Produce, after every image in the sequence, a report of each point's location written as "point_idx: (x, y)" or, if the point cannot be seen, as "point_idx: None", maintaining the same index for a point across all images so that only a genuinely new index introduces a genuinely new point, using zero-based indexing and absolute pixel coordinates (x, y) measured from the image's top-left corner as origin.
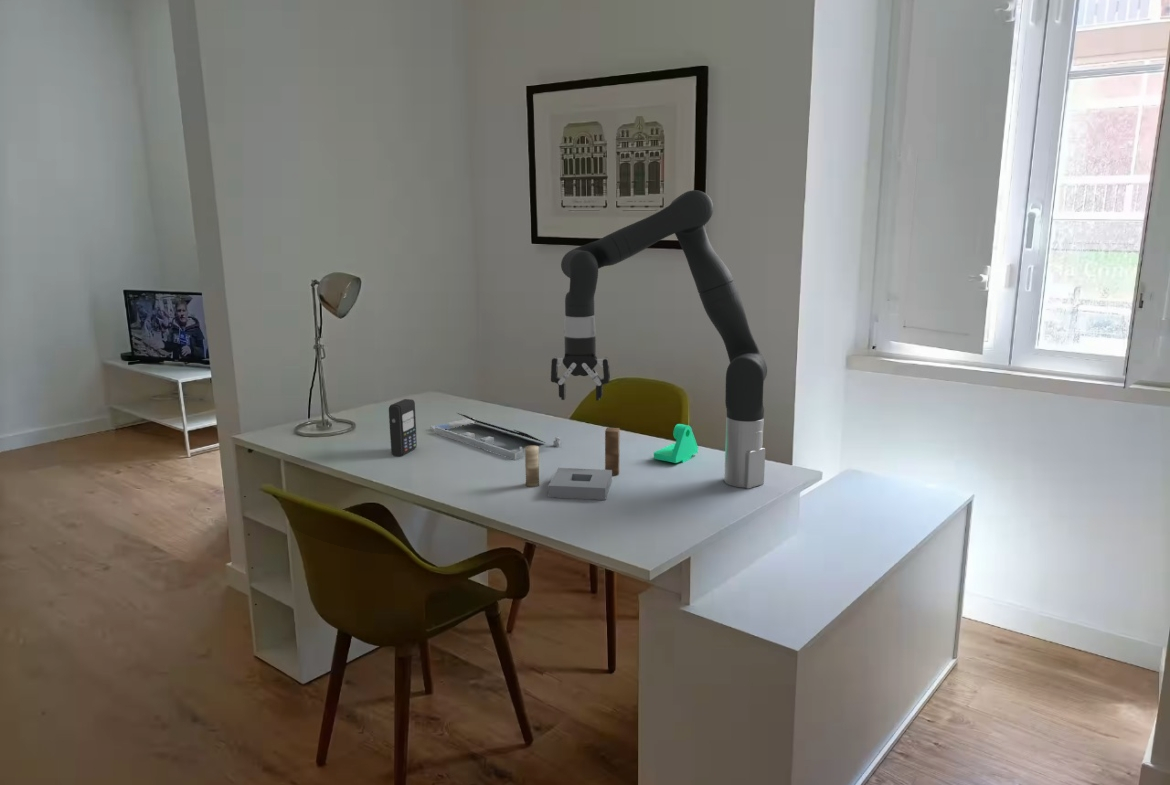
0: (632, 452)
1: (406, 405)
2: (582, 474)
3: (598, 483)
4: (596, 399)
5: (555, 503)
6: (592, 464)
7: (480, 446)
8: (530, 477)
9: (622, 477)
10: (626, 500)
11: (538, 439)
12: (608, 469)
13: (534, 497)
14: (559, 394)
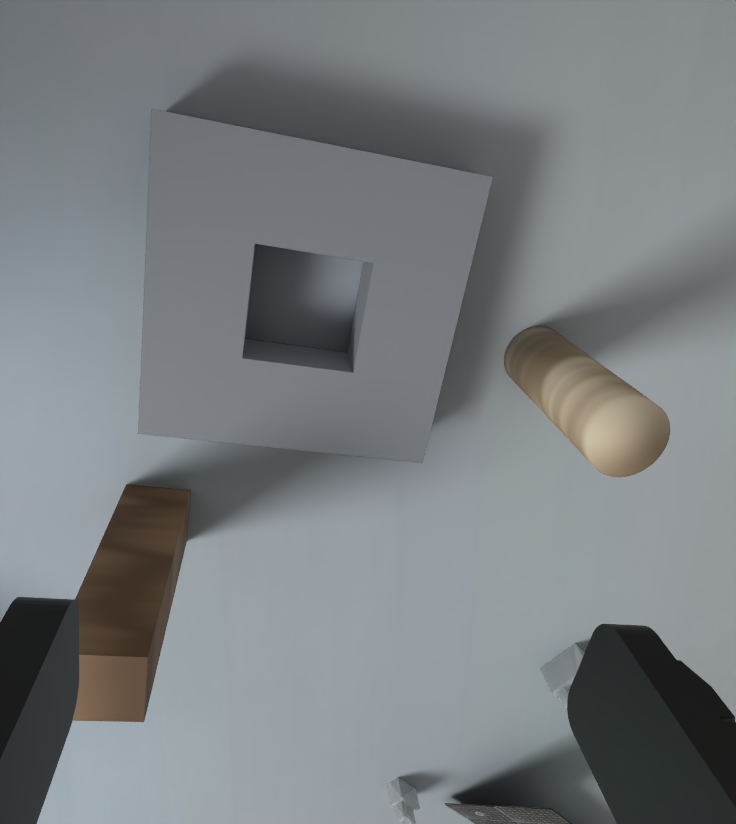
0: (86, 752)
1: None
2: (298, 365)
3: (200, 203)
4: (59, 601)
5: (442, 69)
6: (256, 614)
7: None
8: (566, 340)
9: (100, 459)
10: (37, 96)
11: (480, 805)
12: (169, 503)
13: (542, 175)
14: (712, 701)
